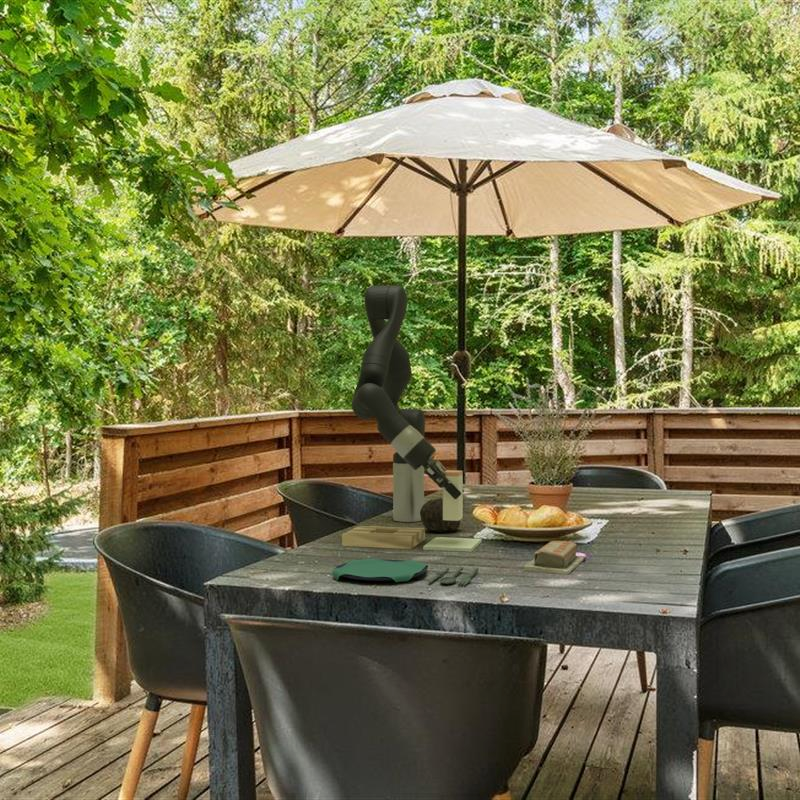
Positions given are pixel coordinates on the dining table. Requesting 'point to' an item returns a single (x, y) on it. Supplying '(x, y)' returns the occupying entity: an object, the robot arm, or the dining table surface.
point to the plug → (451, 505)
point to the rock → (436, 517)
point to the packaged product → (555, 558)
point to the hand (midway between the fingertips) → (459, 495)
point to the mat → (452, 544)
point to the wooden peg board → (383, 537)
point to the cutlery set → (393, 571)
